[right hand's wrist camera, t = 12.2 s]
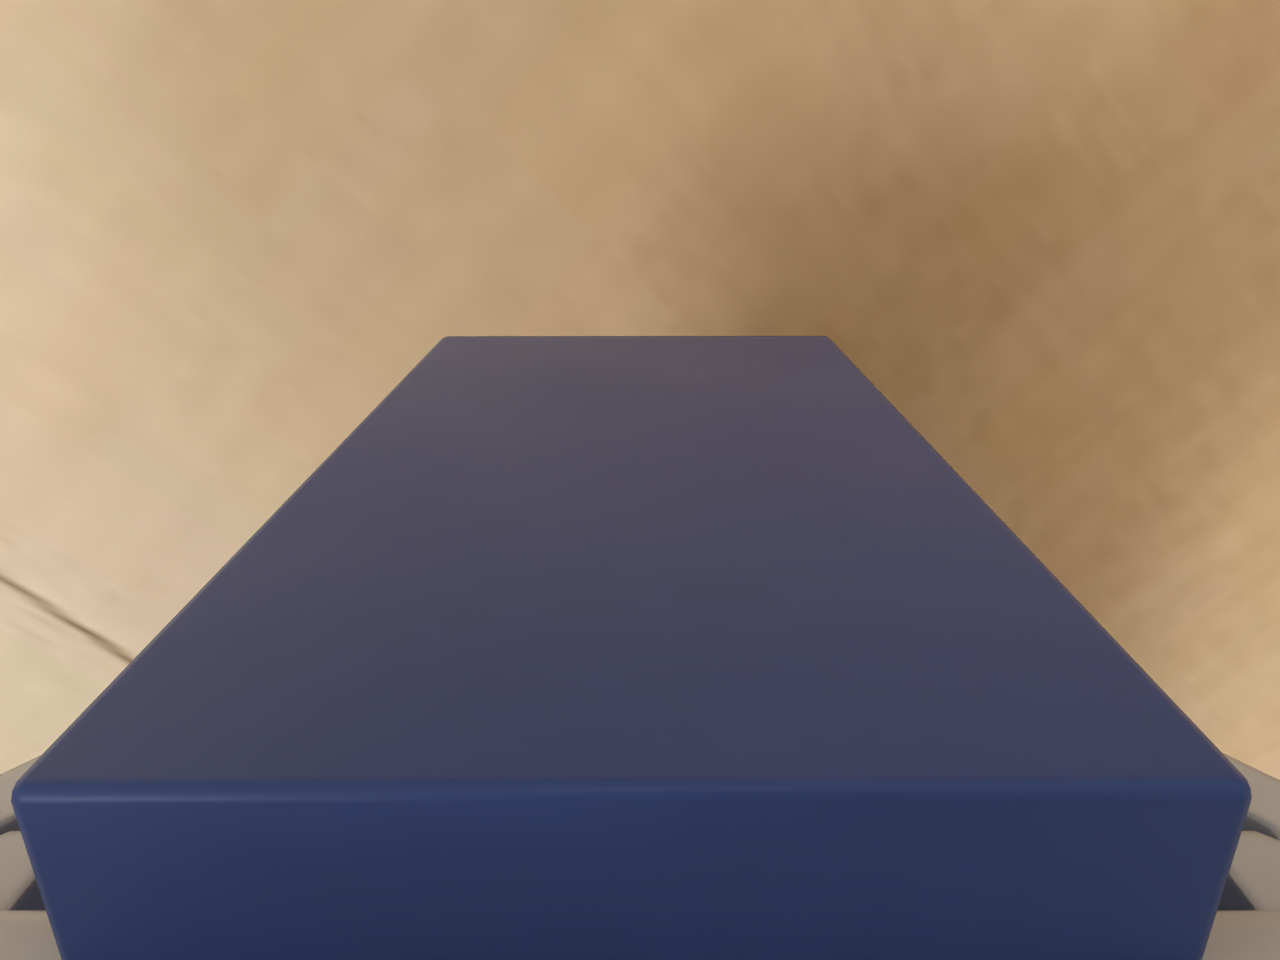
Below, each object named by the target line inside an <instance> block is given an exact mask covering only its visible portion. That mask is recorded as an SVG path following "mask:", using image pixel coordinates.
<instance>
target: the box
mask: <svg viewBox="0 0 1280 960" xmlns="http://www.w3.org/2000/svg"><path fill="white" fill-rule="evenodd" d="M1251 800H1252V796H1251V788H1250V786H1249V783H1248V781H1247V779H1246V778H1245V777H1244V776H1243V775H1242V774H1241V773H1240V771H1239V770H1238V769H1237V768H1236V767H1235V766H1234V765H1233V764H1232V763H1231V762H1230V761H1229V760H1228V759H1227V758H1226V757H1225V756H1224V755H1223V753H1222V752H1221V751H1220V750H1219V749H1218V748H1217V747H1216V746H1215V745H1214V744H1213V743H1212V742H1211V741H1210V740H1209V739H1208V738H1207V737H1206V736H1205V734H1204V733H1203V732H1202V731H1201V730H1200V729H1199V728H1198V727H1197V726H1196V725H1195V724H1194V723H1193V722H1192V721H1191V720H1190V719H1189V718H1188V717H1187V715H1186V714H1185V713H1184V712H1183V711H1182V710H1181V709H1180V708H1179V707H1178V706H1177V705H1176V704H1175V703H1174V702H1173V701H1172V700H1171V699H1170V698H1169V696H1168V695H1167V694H1166V693H1165V692H1164V691H1163V690H1162V689H1161V688H1160V687H1159V686H1158V685H1157V684H1156V683H1155V682H1154V681H1153V680H1152V679H1151V677H1150V676H1149V675H1148V674H1147V673H1146V672H1145V671H1144V670H1143V669H1142V668H1141V667H1140V666H1139V665H1138V664H1137V663H1136V662H1135V661H1134V660H1133V658H1132V657H1131V656H1130V655H1129V654H1128V653H1127V652H1126V651H1125V650H1124V649H1123V648H1122V647H1121V646H1120V645H1119V644H1118V643H1117V642H1116V640H1115V639H1114V638H1113V637H1112V636H1111V635H1110V634H1109V633H1108V632H1107V631H1106V630H1105V629H1104V628H1103V627H1102V626H1101V625H1100V624H1099V623H1098V621H1097V620H1096V619H1095V618H1094V617H1093V616H1092V615H1091V614H1090V613H1089V612H1088V611H1087V610H1086V609H1085V608H1084V607H1083V606H1082V605H1081V604H1080V602H1079V601H1078V600H1077V599H1076V598H1075V597H1074V596H1073V595H1072V594H1071V593H1070V592H1069V591H1068V590H1067V589H1066V588H1065V587H1064V586H1063V585H1062V583H1061V582H1060V581H1059V580H1058V579H1057V578H1056V577H1055V576H1054V575H1053V574H1052V573H1051V572H1050V571H1049V570H1048V569H1047V568H1046V567H1045V566H1044V564H1043V563H1042V562H1041V561H1040V560H1039V559H1038V558H1037V557H1036V556H1035V555H1034V554H1033V553H1032V552H1031V551H1030V550H1029V549H1028V548H1027V547H1026V545H1025V544H1024V543H1023V542H1022V541H1021V540H1020V539H1019V538H1018V537H1017V536H1016V535H1015V534H1014V533H1013V532H1012V531H1011V530H1010V529H1009V527H1008V526H1007V525H1006V524H1005V523H1004V522H1003V521H1002V520H1001V519H1000V518H999V517H998V516H997V515H996V514H995V513H994V512H993V511H992V510H991V508H990V507H989V506H988V505H987V504H986V503H985V502H984V501H983V500H982V499H981V498H980V497H979V496H978V495H977V494H976V493H975V492H974V491H973V489H972V488H971V487H970V486H969V485H968V484H967V483H966V482H965V481H964V480H963V479H962V478H961V477H960V476H959V475H958V474H957V473H956V472H955V470H954V469H953V468H952V467H951V466H950V465H949V464H948V463H947V462H946V461H945V460H944V459H943V458H942V457H941V456H940V455H939V454H938V453H937V451H936V450H935V449H934V448H933V447H932V446H931V445H930V444H929V443H928V442H927V441H926V440H925V439H924V438H923V437H922V436H921V435H920V433H919V432H918V431H917V430H916V429H915V428H914V427H913V426H912V425H911V424H910V423H909V422H908V421H907V420H906V419H905V418H904V417H903V416H902V414H901V413H900V412H899V411H898V410H897V409H896V408H895V407H894V406H893V405H892V404H891V403H890V402H889V401H888V400H887V399H886V398H885V397H884V395H883V394H882V393H881V392H880V391H879V390H878V389H877V388H876V387H875V386H874V385H873V384H872V383H871V382H870V381H869V380H868V379H867V378H866V376H865V375H864V374H863V373H862V372H861V371H860V370H859V369H858V368H857V367H856V366H855V365H854V364H853V363H852V362H851V361H850V360H849V359H848V357H847V356H846V355H845V354H844V353H843V352H842V351H841V350H840V349H839V348H838V347H837V346H836V345H835V344H834V343H833V342H832V341H831V340H830V338H828V337H826V336H477V337H445V338H443V339H442V340H441V341H440V342H439V343H438V344H437V345H436V346H435V347H434V348H433V349H432V350H431V351H430V352H429V353H428V354H427V355H426V356H425V357H424V358H423V359H422V360H421V361H420V363H419V364H418V365H417V366H416V367H415V368H414V369H413V370H412V371H411V372H410V373H409V374H408V375H407V376H406V377H405V378H404V379H403V380H402V381H401V382H400V383H399V384H398V385H397V386H396V387H395V388H394V390H393V391H392V392H391V393H390V394H389V395H388V396H387V397H386V398H385V399H384V400H383V401H382V402H381V403H380V404H379V405H378V406H377V407H376V408H375V409H374V410H373V411H372V412H371V413H370V414H369V416H368V417H367V418H366V419H365V420H364V421H363V422H362V423H361V424H360V425H359V426H358V427H357V428H356V429H355V430H354V431H353V432H352V433H351V434H350V435H349V436H348V437H347V438H346V439H345V440H344V442H343V443H342V444H341V445H340V446H339V447H338V448H337V449H336V450H335V451H334V452H333V453H332V454H331V455H330V456H329V457H328V458H327V459H326V460H325V461H324V462H323V463H322V464H321V465H320V466H319V468H318V469H317V470H316V471H315V472H314V473H313V474H312V475H311V476H310V477H309V478H308V479H307V480H306V481H305V482H304V483H303V484H302V485H301V486H300V487H299V488H298V489H297V490H296V491H295V492H294V494H293V495H292V496H291V497H290V498H289V499H288V500H287V501H286V502H285V503H284V504H283V505H282V506H281V507H280V508H279V509H278V510H277V511H276V512H275V513H274V514H273V515H272V516H271V517H270V518H269V519H268V521H267V522H266V523H265V524H264V525H263V526H262V527H261V528H260V529H259V530H258V531H257V532H256V533H255V534H254V535H253V536H252V537H251V538H250V539H249V540H248V541H247V542H246V543H245V544H244V545H243V547H242V548H241V549H240V550H239V551H238V552H237V553H236V554H235V555H234V556H233V557H232V558H231V559H230V560H229V561H228V562H227V563H226V564H225V565H224V566H223V567H222V568H221V569H220V570H219V571H218V573H217V574H216V575H215V576H214V577H213V578H212V579H211V580H210V581H209V582H208V583H207V584H206V585H205V586H204V587H203V588H202V589H201V590H200V591H199V592H198V593H197V594H196V595H195V596H194V597H193V599H192V600H191V601H190V602H189V603H188V604H187V605H186V606H185V607H184V608H183V609H182V610H181V611H180V612H179V613H178V614H177V615H176V616H175V617H174V618H173V619H172V620H171V621H170V622H169V623H168V625H167V626H166V627H165V628H164V629H163V630H162V631H161V632H160V633H159V634H158V635H157V636H156V637H155V638H154V639H153V640H152V641H151V642H150V643H149V644H148V645H147V646H146V647H145V648H144V649H143V650H142V652H141V653H140V654H139V655H138V656H137V657H136V658H135V659H134V660H133V661H132V662H131V663H130V664H129V665H128V666H127V667H126V668H125V669H124V670H123V671H122V672H121V673H120V674H119V675H118V676H117V678H116V679H115V680H114V681H113V682H112V683H111V684H110V685H109V686H108V687H107V688H106V689H105V690H104V691H103V692H102V693H101V694H100V695H99V696H98V697H97V698H96V699H95V700H94V701H93V702H92V704H91V705H90V706H89V707H88V708H87V709H86V710H85V711H84V712H83V713H82V714H81V715H80V716H79V717H78V718H77V719H76V720H75V721H74V722H73V723H72V724H71V725H70V726H69V727H68V728H67V730H66V731H65V732H64V733H63V734H62V735H61V736H60V737H59V738H58V739H57V740H56V741H55V742H54V743H53V744H52V745H51V746H50V747H49V748H48V749H47V750H46V751H45V752H44V753H43V754H42V756H41V757H40V758H39V759H38V760H37V761H36V762H35V763H34V764H33V765H32V766H31V767H30V768H29V769H28V770H27V771H26V772H25V773H24V774H23V775H22V776H21V777H20V778H19V779H18V780H17V782H16V783H15V786H14V788H13V790H12V797H11V803H12V806H13V810H14V813H15V816H16V819H17V822H18V825H19V828H20V831H21V834H22V838H23V841H24V844H25V847H26V850H27V853H28V856H29V859H30V863H31V866H32V869H33V872H34V875H35V878H36V881H37V884H38V887H39V891H40V894H41V897H42V900H43V903H44V906H45V909H46V912H47V916H48V919H49V922H50V925H51V928H52V931H53V934H54V937H55V941H56V944H57V947H58V950H59V953H60V956H61V959H62V960H1201V959H1202V958H1203V955H1204V951H1205V948H1206V945H1207V942H1208V939H1209V935H1210V932H1211V929H1212V926H1213V922H1214V919H1215V916H1216V913H1217V909H1218V906H1219V903H1220V900H1221V897H1222V893H1223V890H1224V887H1225V884H1226V880H1227V877H1228V874H1229V871H1230V867H1231V864H1232V861H1233V858H1234V855H1235V851H1236V848H1237V845H1238V842H1239V838H1240V835H1241V832H1242V829H1243V825H1244V822H1245V819H1246V816H1247V813H1248V809H1249V806H1250V803H1251Z"/></svg>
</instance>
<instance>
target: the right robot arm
mask: <svg viewBox="0 0 1280 960" xmlns="http://www.w3.org/2000/svg"><path fill="white" fill-rule="evenodd" d="M1223 755H1224V756H1225V757H1226V758H1227V759H1228V760H1229V761H1230V762H1231V763H1232V764H1233V765H1234V766H1235V767H1236V768H1237V769H1238V770H1239V771H1240V773H1241V774H1242V775H1243V776H1244V777H1245V778H1246V779H1247V781H1248V783H1249V786H1250V788H1251V796H1252V800H1251V803H1250V806H1249V809H1248V813H1247V816H1246V819H1245V822H1244V825H1243V829H1242V832H1241V835H1240V838H1239V842H1238V845H1237V848H1236V851H1235V855H1234V858H1233V861H1232V864H1231V867H1230V871H1229V874H1228V877H1227V880H1226V884H1225V887H1224V890H1223V893H1222V897H1221V900H1220V903H1219V906H1218V909H1217V913H1216V916H1215V919H1214V922H1213V926H1212V929H1211V932H1210V935H1209V939H1208V942H1207V945H1206V948H1205V951H1204V955H1203V958H1202V959H1201V960H1280V780H1278V779H1276V778H1273V777H1271V776H1269V775H1267V774H1265V773H1263V772H1261V771H1259V770H1257V769H1255V768H1253V767H1251V766H1248V765H1246V764H1244V763H1242V762H1240V761H1238V760H1236V759H1234V758H1232V757H1230V756H1228V755H1226V754H1223ZM41 756H42V755H41ZM41 756H39V757H37V758H35V759H32V760H30V761H28V762H26V763H24V764H22V765H20V766H18V767H16V768H13V769H11V770H9V771H7V772H5V773H3V774H1V775H0V960H62V959H61V956H60V953H59V950H58V947H57V944H56V941H55V937H54V934H53V931H52V928H51V925H50V922H49V919H48V916H47V912H46V909H45V906H44V903H43V900H42V897H41V894H40V891H39V887H38V884H37V881H36V878H35V875H34V872H33V869H32V866H31V863H30V859H29V856H28V853H27V850H26V847H25V844H24V841H23V838H22V834H21V831H20V828H19V825H18V822H17V819H16V816H15V813H14V810H13V806H12V803H11V797H12V790H13V788H14V786H15V783H16V782H17V780H18V779H19V778H20V777H21V776H22V775H23V774H24V773H25V772H26V771H27V770H28V769H29V768H30V767H31V766H32V765H33V764H34V763H35V762H36V761H37V760H38V759H39V758H40V757H41Z"/></svg>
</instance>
